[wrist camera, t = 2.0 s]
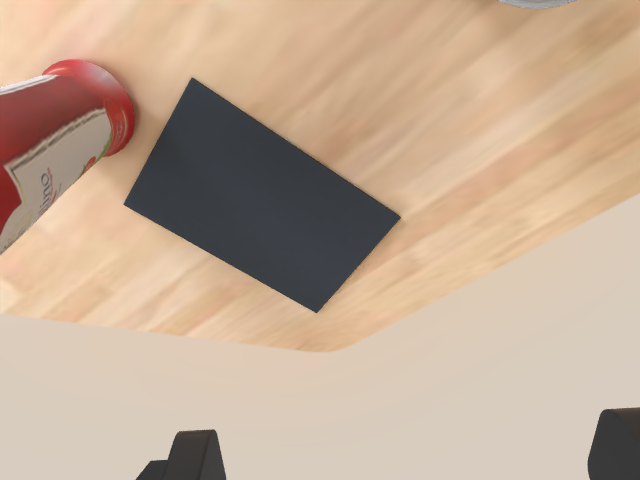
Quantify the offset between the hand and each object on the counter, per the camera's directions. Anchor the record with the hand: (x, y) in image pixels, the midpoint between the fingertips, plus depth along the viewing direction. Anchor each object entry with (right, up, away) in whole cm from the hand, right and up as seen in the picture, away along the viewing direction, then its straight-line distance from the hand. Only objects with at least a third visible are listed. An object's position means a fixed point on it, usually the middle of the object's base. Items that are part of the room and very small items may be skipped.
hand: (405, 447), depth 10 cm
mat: (-6, +7, +28) cm, 30 cm away
